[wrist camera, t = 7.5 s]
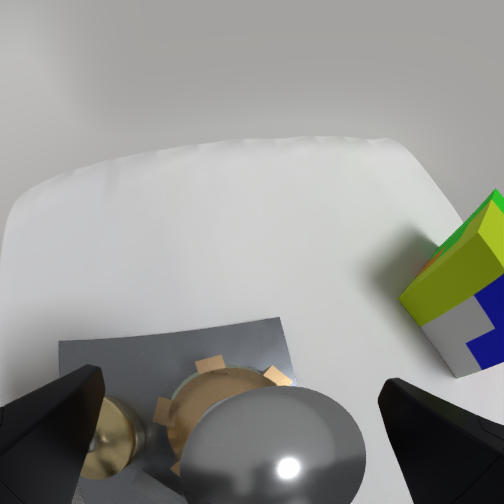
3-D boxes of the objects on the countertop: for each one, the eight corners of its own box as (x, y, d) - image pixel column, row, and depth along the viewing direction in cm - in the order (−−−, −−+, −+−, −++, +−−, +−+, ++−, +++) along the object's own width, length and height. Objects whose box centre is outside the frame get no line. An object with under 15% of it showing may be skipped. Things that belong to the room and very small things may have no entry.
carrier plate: (334, 476, 13) (376, 492, 9) (93, 506, 9) (59, 530, 5) (293, 318, 19) (320, 286, 14) (65, 344, 15) (24, 319, 11)
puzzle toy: (455, 378, 17) (544, 343, 9) (397, 298, 21) (477, 232, 12) (487, 313, 22) (550, 269, 13) (438, 247, 25) (495, 188, 17)
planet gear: (309, 457, 13) (465, 498, 3) (191, 495, 11) (167, 624, 1) (266, 347, 16) (363, 234, 6) (149, 379, 14) (33, 311, 4)
